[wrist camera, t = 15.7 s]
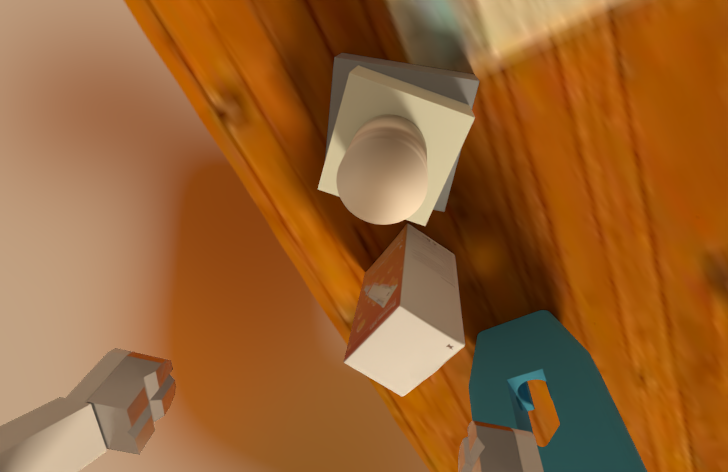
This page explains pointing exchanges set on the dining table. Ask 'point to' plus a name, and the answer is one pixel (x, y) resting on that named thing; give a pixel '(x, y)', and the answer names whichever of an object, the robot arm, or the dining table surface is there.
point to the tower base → (421, 76)
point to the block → (566, 387)
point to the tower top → (422, 107)
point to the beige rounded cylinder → (384, 171)
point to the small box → (407, 313)
